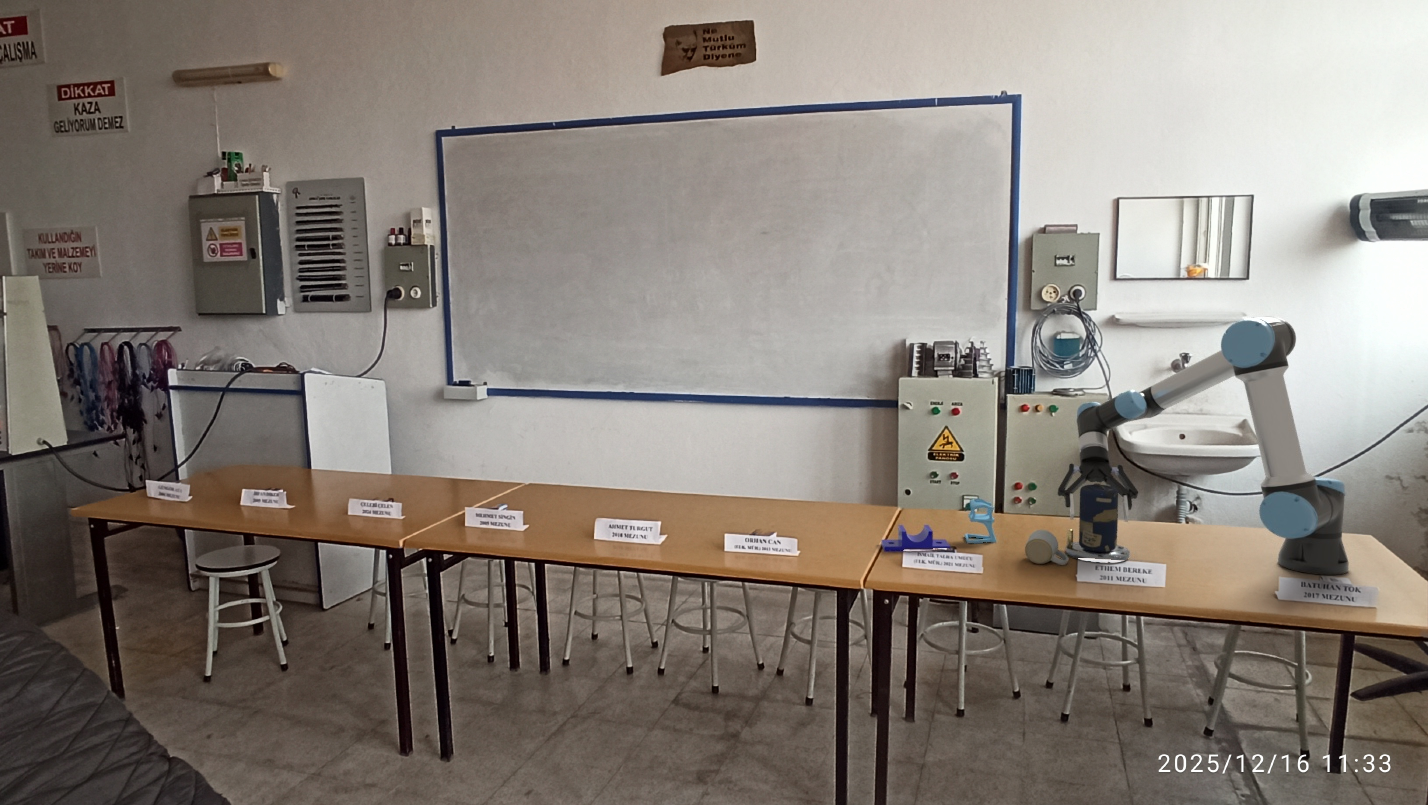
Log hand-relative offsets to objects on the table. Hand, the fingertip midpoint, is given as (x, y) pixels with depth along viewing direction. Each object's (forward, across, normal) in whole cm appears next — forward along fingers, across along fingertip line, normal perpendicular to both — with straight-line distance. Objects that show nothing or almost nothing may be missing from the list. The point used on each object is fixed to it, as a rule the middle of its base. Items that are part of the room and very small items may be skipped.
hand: (1099, 518), depth 252 cm
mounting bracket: (+8, +48, -8) cm, 49 cm away
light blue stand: (0, +30, -16) cm, 34 cm away
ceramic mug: (+12, +14, -3) cm, 19 cm away
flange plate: (+6, 0, -9) cm, 11 cm away
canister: (+5, 0, -8) cm, 10 cm away
